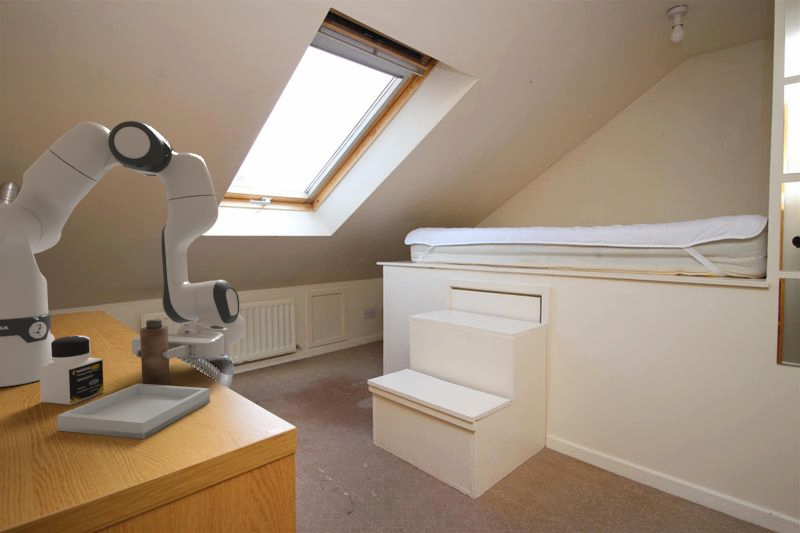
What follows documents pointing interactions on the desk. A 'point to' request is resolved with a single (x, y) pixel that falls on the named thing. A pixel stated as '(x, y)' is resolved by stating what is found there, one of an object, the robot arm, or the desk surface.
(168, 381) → the walnut pepper mill
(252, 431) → the desk surface
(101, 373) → the medicine bottle
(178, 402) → the pale dish
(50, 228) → the robot arm
